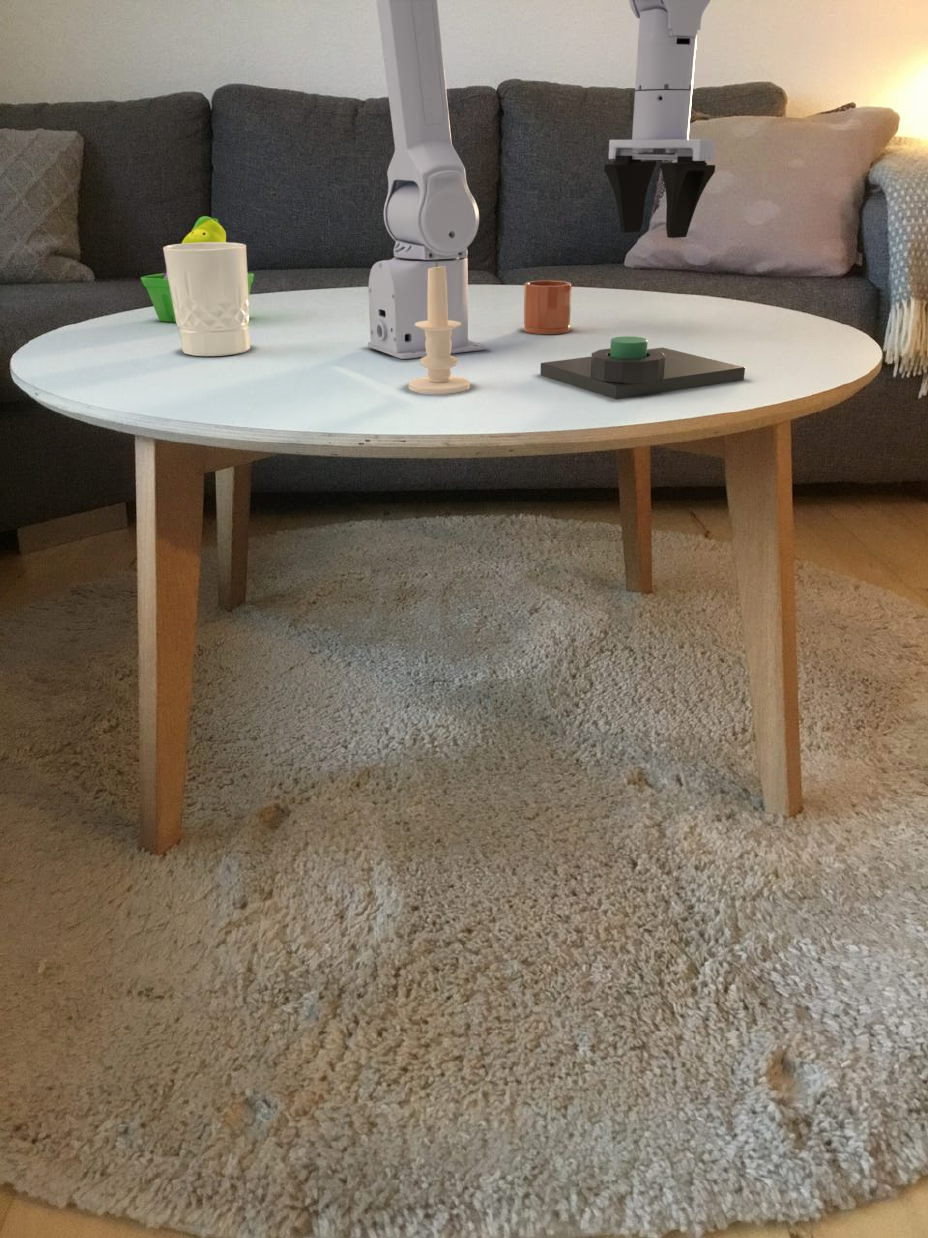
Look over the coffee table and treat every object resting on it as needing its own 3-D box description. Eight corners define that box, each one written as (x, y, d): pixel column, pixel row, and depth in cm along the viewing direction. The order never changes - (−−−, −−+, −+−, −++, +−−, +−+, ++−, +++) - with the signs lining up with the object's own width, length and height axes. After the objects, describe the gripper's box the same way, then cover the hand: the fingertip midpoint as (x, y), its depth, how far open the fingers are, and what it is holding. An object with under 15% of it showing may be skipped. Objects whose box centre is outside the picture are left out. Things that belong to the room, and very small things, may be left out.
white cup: (271, 349, 103) (262, 245, 98) (205, 361, 97) (192, 251, 93) (226, 340, 107) (215, 240, 103) (161, 351, 102) (147, 246, 98)
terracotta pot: (540, 335, 109) (541, 287, 107) (515, 329, 113) (516, 282, 111) (578, 331, 111) (580, 284, 109) (552, 325, 115) (553, 279, 113)
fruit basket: (142, 322, 119) (128, 219, 114) (188, 311, 126) (177, 214, 121) (224, 327, 115) (213, 221, 110) (266, 316, 122) (258, 215, 117)
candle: (396, 387, 87) (392, 259, 82) (445, 378, 89) (443, 254, 85) (432, 398, 83) (429, 264, 78) (482, 389, 86) (482, 259, 81)
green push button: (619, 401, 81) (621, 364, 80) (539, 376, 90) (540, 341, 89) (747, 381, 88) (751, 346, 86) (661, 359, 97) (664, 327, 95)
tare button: (624, 363, 82) (626, 343, 81) (602, 357, 84) (603, 338, 84) (653, 359, 83) (655, 340, 83) (630, 353, 86) (632, 334, 85)
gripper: (744, 88, 98) (729, 237, 104) (648, 94, 110) (639, 228, 115) (688, 87, 95) (676, 240, 101) (596, 93, 106) (589, 231, 112)
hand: (653, 234), depth 108 cm, fingers open, 7 cm apart
